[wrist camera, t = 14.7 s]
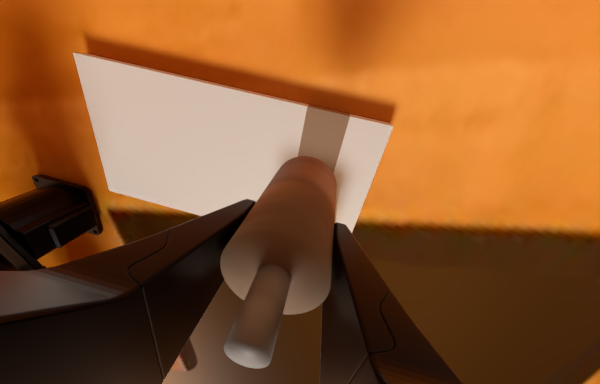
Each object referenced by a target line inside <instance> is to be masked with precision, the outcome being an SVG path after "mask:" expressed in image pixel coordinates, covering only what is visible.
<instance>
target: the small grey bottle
mask: <svg viewBox="0 0 600 384" xmlns="http://www.w3.org/2000/svg"><path fill="white" fill-rule="evenodd" d="M336 191H337V182H336V178H335V175H334V173H333V172H332V170H331V169H330V168H329V167H328V165H326V164H325V163H324V162H322V161H321V160H319V159H316V158H313V157H309V156H299V157H295V158H292V159H290V160H288V161H286V162H285V163H284V164H283V165H282V166H281V167H280V169H279V170H278V171H277V173H276V174H275V176H274V177H273V179H272V180H271V182H270V183H269V184H268V186H267V187H266V189H265V190H264V192H263V193H262V195H261V196H260V197H259V199H258V200H257V202H256V203H255V205H254V206H253V208H252V209H251V211H250V212H249V213H248V215H247V216H246V218H245V219H244V221H243V222H242V224H241V225H240V226H239V228H238V229H237V231H236V232H235V234H234V235H233V237H232V238H231V239H230V241H229V242H228V244H227V245H226V247H225V248H224V250H223V252H222V255H221V259H220V268H221V272H222V275H223V277H224V279H225V281H226V283H227V284H228V286H229V287H230V288H231V289H232V291H233V292H234V293H235V294H236V295H238V296H239V297H240V298H241V299H243V300H244V302H243V304H242V307H241V309H240V311H239V313H238V316H237V318H236V320H235V322H234V325H233V327H232V329H231V331H230V334H229V336H228V338H227V341H226V343H225V345H224V351H225V353H226V355H227V356H228V357H229V358H230V359H231V360H233V361H234V362H236V363H238V364H240V365H242V366H245V367H249V368H264V367H266V366H268V365H269V364H270V362H271V358H272V354H273V350H274V346H275V342H276V338H277V334H278V330H279V326H280V323H281V319H282V315H283V314H300V313H305V312H308V311H310V310H313V309H314V308H316V307H318V306H319V305H320V304H321V303H323V302H324V300H325V299H326V298H327V296H328V294H329V291H330V287H331V272H332V256H333V240H334V224H335V207H336Z"/></svg>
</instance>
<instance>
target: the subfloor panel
mask: <svg viewBox="0 0 600 384" xmlns="http://www.w3.org/2000/svg"><path fill="white" fill-rule="evenodd" d="M73 55H74V59H75V63H76V66H77V70H78V74H79V78H80V82H81V85H82V89H83V93H84V97H85V101H86V104H87V108H88V112H89V116H90V120H91V123H92V127H93V131H94V135H95V138H96V142H97V146H98V150H99V154H100V157H101V161H102V165H103V169H104V173H105V176H106V180H107V184H108V188H109V191H112V192H115V193H119V194H123V195H126V196H130V197H134V198H137V199H141V200H145V201H149V202H152V203H156V204H160V205H163V206H167V207H171V208H174V209H178V210H182V211H185V212H189V213H193V214H197V215H200V216H203V215H206V214H208V213H211V212H214V211H216V210H219V209H221V208H224V207H226V206H229V205H232V204H234V203H237V202H239V201H242V200H244V199H250V200H254V201H256V202H257V200H258V199H259V197H260V196H261V195H262V193H263V192H264V190H265V189H266V187H267V186H268V184H269V183H270V182H271V180H272V179H273V177H274V176H275V174H276V173H277V171H278V170H279V169H280V167H281V166H282V165H283V164H284V163H285V162H286V161H288V160H290V159H292V158H295V157H299V156H309V157H313V158H316V159H319V160H321V161H322V162H324V163H325V164H326V165H328V167H329V168H330V169H331V170H332V172H333V173H334V175H335V178H336V182H337V191H336V205H337V211H336V222H338V223H342V224H345V225H346V226H347V227H348V229H349V230H350V231H351V233H352V232H353V229H354V226H355V224H356V221H357V219H358V216H359V214H360V211H361V209H362V206H363V203H364V201H365V198H366V196H367V193H368V191H369V188H370V185H371V183H372V180H373V178H374V175H375V173H376V170H377V168H378V165H379V162H380V160H381V157H382V155H383V152H384V150H385V147H386V145H387V142H388V139H389V137H390V134H391V132H392V129H393V127H394V126H393V125H392V124H391V123H388V122H384V121H379V120H375V119H371V118H366V117H362V116H358V115H353V114H349V113H345V112H340V111H336V110H331V109H327V108H323V107H318V106H314V105H310V104H305V103H301V102H297V101H292V100H288V99H284V98H279V97H275V96H271V95H266V94H262V93H257V92H253V91H249V90H244V89H240V88H236V87H231V86H227V85H223V84H218V83H214V82H210V81H205V80H201V79H196V78H192V77H188V76H183V75H179V74H175V73H170V72H166V71H162V70H157V69H153V68H149V67H144V66H140V65H135V64H131V63H127V62H122V61H118V60H114V59H109V58H105V57H101V56H96V55H92V54H85V53H73Z"/></svg>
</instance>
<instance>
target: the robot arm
mask: <svg viewBox="0 0 600 384" xmlns="http://www.w3.org/2000/svg"><path fill="white" fill-rule="evenodd" d="M32 179H33V181H34V184H35V186H36V188H37V189H35V190H32V191H30V192H27V193H24V194H21V195H19V196H16V197H13V198H11V199H8V200H5V201H2V202H0V384H162V382H163V379H165V377H166V375H167V373H168V372H169V371H170V369H171V367H172V366H173V364H174V362H175V361H176V359H177V357H178V356H179V354H180V352H181V351H182V349H183V347H184V346H185V344H186V342H187V341H188V339H189V337H190V336H191V334H192V332H193V331H194V329H195V327H196V326H197V324H198V323H199V321H200V319H201V317H202V316H203V314H204V313H205V311H206V309H207V308H208V306H209V304H210V303H211V301H212V299H213V298H214V296H215V294H216V293H217V291H218V289H219V288H220V286H221V284H222V283H223V281H224V277H223V275H222V272H221V268H220V259H221V255H222V252H223V250H224V248H225V247H226V245H227V244H228V242H229V241H230V239H231V238H232V237H233V235H234V234H235V232H236V231H237V229H238V228H239V226H240V225H241V224H242V222H243V221H244V219H245V218H246V216H247V215H248V213H249V212H250V211H251V209H252V208H253V206H254V205H255V203H256V201H254V200H250V199H244V200H242V201H239V202H237V203H234V204H232V205H229V206H226V207H224V208H221V209H219V210H216V211H214V212H211V213H208V214H206V215H203V216H201V217H198V218H196V219H193V220H190V221H188V222H185V223H183V224H180V225H178V226H175V227H172V228H170V229H169V231H168V230H165V231H162V232H159V233H157V234H154V235H151V236H149V237H146V238H143V239H141V240H138V241H135V242H132V243H129V244H126V245H123V246H120V247H116V248H113V249H110V250H107V251H104V252H101V253H97V254H94V255H91V256H88V257H85V258H82V259H78V260H75V261H72V262H69V263H66V264H62V265H59V266H55V267H50V268H46V267H45V266H42V265H41V264H40V263H39V262H38V261H37V259H39V258H41V257H42V256H44V255H46V254H47V253H49V252H51V251H52V250H54V249H56V248H60V247H62V246H64V245H65V244H67V243H69V242H70V241H72V240H74V239H75V238H77V237H79V236H80V235H82V234H84V233H85V232H88V233H91V234H95V235H99V234H101V233H102V229H101V226H100V222H99V219H98V216H97V213H96V210H95V206H94V203H93V200H92V197H91V194H90V191H89V190H88V189H87V188H86V187H83V186H79V185H76V184H72V183H68V182H65V181H61V180H57V179H54V178H50V177H46V176H43V175H34V176H32ZM320 384H463V383H462V381H461V380H460V379H459V378H458V377H457V375H456V374H455V373H454V372H453V370H452V369H451V368H450V367H449V365H448V364H447V363H446V362H445V360H444V359H443V358H442V357H441V356H440V354H439V353H438V352H437V351H436V349H435V348H434V347H433V346H432V345H431V343H430V342H429V341H428V340H427V338H426V337H425V336H424V335H423V333H422V332H421V331H420V330H419V328H418V327H417V326H416V324H415V323H414V322H413V321H412V319H411V318H410V317H409V316H408V314H407V313H406V311H405V310H404V308H403V307H402V306H401V304H400V303H399V301H398V300H397V299H396V297H395V296H394V294H393V293H392V292H391V291H390V288H389V287H388V286H387V285H386V283H385V281H384V280H383V278H382V277H381V276H380V274H379V272H378V271H377V270H376V268H375V267H374V265H373V264H372V262H371V261H370V259H369V258H368V256H367V255H366V253H365V252H364V250H363V249H362V248H361V246H360V245H359V243H358V242H357V240H356V239H355V237H354V236H353V234H352V233H351V231H350V230H349V229H348V227H347V226H346V225H345V224H342V223H338V222H336V223H335V224H334V240H333V256H332V272H331V287H330V291H329V294H328V296H327V298H326V299H325V300H324V302H323V303H322V328H321V359H320Z"/></svg>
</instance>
